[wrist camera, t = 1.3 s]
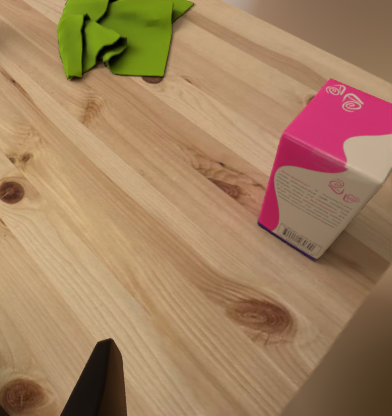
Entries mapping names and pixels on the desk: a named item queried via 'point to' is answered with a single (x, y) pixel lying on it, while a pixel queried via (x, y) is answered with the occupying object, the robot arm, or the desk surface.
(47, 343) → the desk surface
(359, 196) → the supplement box
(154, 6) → the cloth
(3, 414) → the scale
